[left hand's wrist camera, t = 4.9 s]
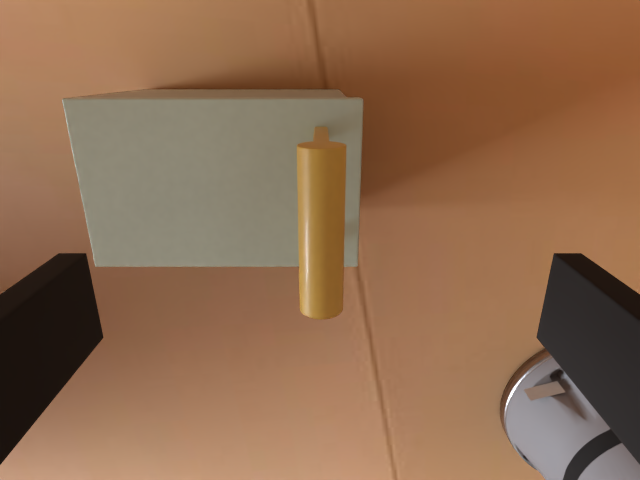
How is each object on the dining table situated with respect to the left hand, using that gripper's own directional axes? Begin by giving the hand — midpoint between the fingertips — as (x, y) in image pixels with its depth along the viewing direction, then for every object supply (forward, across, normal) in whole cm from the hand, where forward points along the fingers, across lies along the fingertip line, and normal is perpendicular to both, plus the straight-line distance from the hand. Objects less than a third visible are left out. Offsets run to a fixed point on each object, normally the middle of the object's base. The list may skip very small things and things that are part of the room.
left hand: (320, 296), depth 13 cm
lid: (+13, +5, 0) cm, 14 cm away
